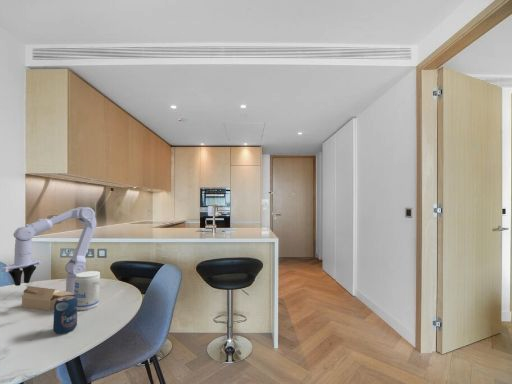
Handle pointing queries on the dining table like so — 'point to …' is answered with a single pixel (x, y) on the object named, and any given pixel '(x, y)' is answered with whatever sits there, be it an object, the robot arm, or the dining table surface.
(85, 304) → the supplement tub
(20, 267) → the robot arm
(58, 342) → the dining table surface
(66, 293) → the carton
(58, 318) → the soda can
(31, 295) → the far flap
